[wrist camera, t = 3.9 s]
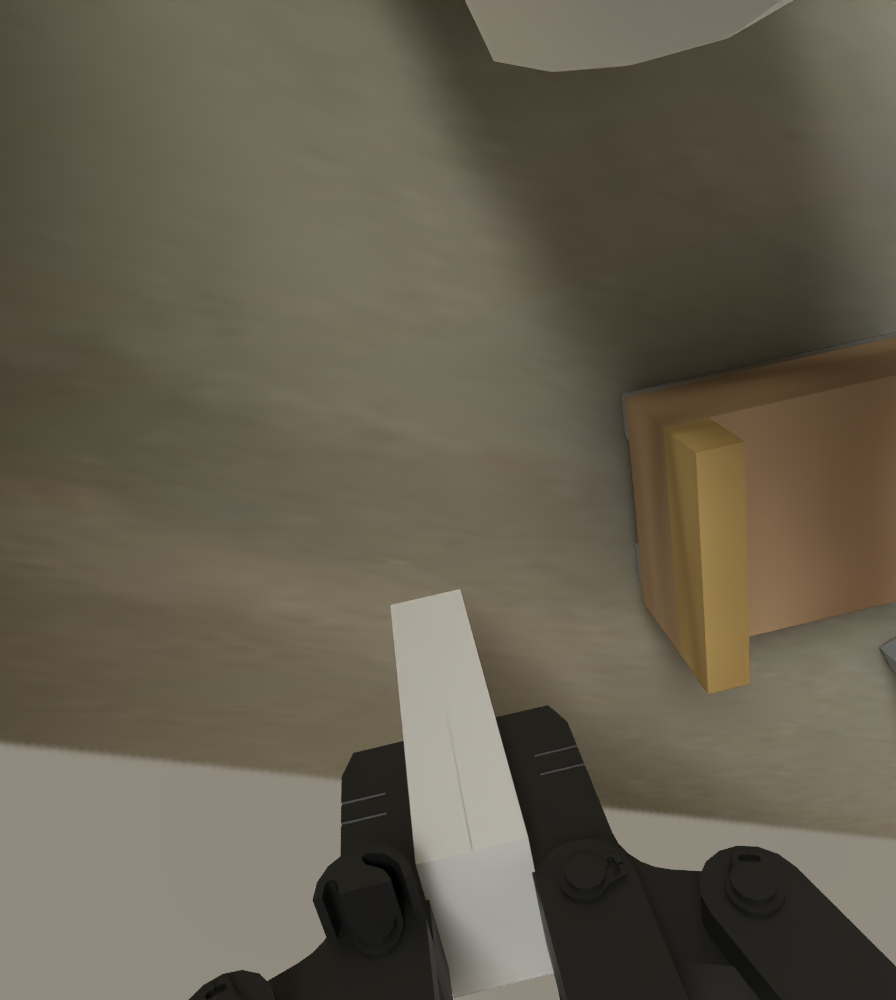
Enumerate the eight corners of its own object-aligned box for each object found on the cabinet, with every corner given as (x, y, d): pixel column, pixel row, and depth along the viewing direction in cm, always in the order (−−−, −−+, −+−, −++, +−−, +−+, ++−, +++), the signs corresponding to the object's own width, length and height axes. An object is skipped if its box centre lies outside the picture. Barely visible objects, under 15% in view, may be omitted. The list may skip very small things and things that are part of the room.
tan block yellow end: (630, 585, 22) (708, 694, 17) (611, 386, 19) (695, 452, 15) (893, 523, 22) (1037, 614, 18) (907, 320, 20) (1079, 365, 15)
